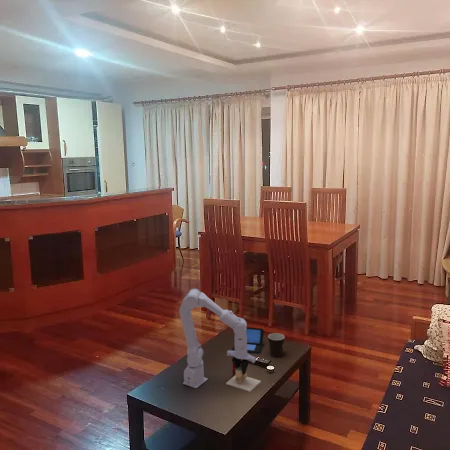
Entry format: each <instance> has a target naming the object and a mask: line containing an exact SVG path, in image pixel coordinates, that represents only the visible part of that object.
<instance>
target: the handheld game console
mask: <svg viewBox="0 0 450 450" xmlns="http://www.w3.org/2000/svg"><path fill="white" fill-rule="evenodd" d="M246 333H247V334H246V335H247V353H248V354H255V353H256V354H257V355H259V354H261V352H262V349H263V347H264V344H263V343H264V333H265V331H264V329H263V328H259V327H247V328H246ZM232 351H235V343H234V344H233V346H232Z"/></svg>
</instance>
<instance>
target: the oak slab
mask: <svg viewBox="0 0 450 450" xmlns="http://www.w3.org/2000/svg"><path fill="white" fill-rule="evenodd" d="M235 375H236V382H238V383H241V382H242V381H243V380H245V379H246V378H247V377H248V369H247V370H246V373H245V374H244V375H243V374H242V366H240V367H238V368H237V369H236V368H235Z"/></svg>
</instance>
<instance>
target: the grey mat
mask: <svg viewBox="0 0 450 450" xmlns="http://www.w3.org/2000/svg"><path fill="white" fill-rule="evenodd" d="M261 383H262V380H259V379H256V378H254V377H249V376H247V378H246V379H245V380H243V381H242V382H241V383H238V382H236V374H235V375H234V376H233V377H232V378H229V380H227V382H225V385H227V386H229V387H230V386H231V387H233V388H237V389H239V390H243V391H246V392H248V393H251V392H252V391H253V390H255V388H257V386H258V385H260V384H261Z"/></svg>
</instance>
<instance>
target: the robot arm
mask: <svg viewBox="0 0 450 450" xmlns="http://www.w3.org/2000/svg"><path fill="white" fill-rule="evenodd" d="M196 307H197V308H206V309H208V310H209V311H211V312H213V313H214V314H216V315H217V316H218V317H219V320H220V321H221V322H223V323H224V324H225V325H226V326H228V327H229V328H231V329H232V331H233V334H234V337H233V338H234V344H235V351H232V350H230V349H229V350H227V351H226V356H228V357H229V356H231V357H232V358H231V361H232V363H233V365H234V367H235V370H236V369H237V368H238V367H240V366H242V374H243V375H244V374H245V373H246V370H247V371H248V366H249V364H250V362H251V363H252V364H255V363H256V360H257V358H256V356H253V355H251V353H247V335H246V334H247V333H246V328H247V325H248V324H247V321H246V320H245V318H242V317H238V316H237V315H235V314H234V313H233V311H232V310H229V309H224V308H222V307H221V306H219V305H218V304H216V303H215V302H214V301H213V300H212V299H211V298H209V297H208V296H207V295H206V294H205V293H204V292H202V291H200V289H198V288H191V289H190V290H189V291H188V292H186V295H185V297H184V298H183V299H182V302H181V305H180V307H179V310H178V313H179V316H180V320H181V324H182V329H183V334H184V337H185V342H186V345H187V350H186V351H187V352H186V353H187V357H186V363H187V366H186V368H185V369H184V370H183V382H182V385H186V386H188V387H191V388H194V389H197V388H198V387H200V386H201V385H202V384H204V383H205V382H206V381H208V378H207V377H205V375H204V374H205V370H204V369H205V368H204V360H203V356H204V352H205V351H204V350H203V348H202V347H201V343H200V342H198V336H197V333H196V328H195V325H194V321H193V320H194V319H193V315H192V310H193V309H195V308H196Z"/></svg>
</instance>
